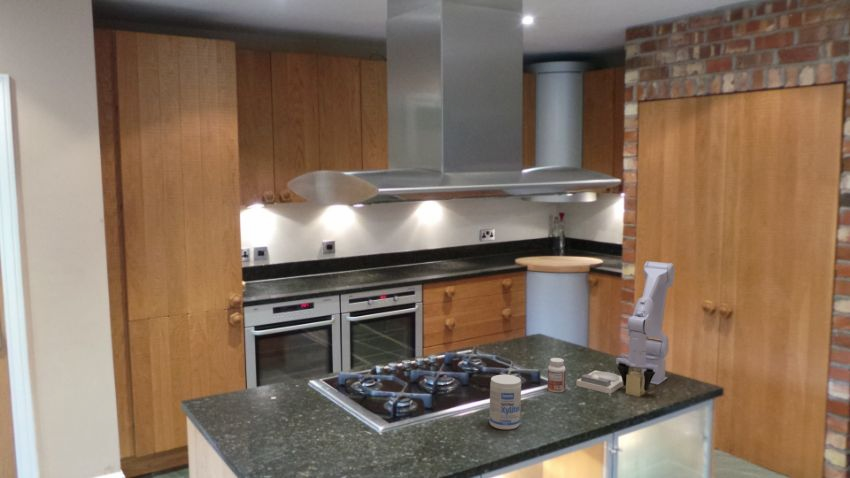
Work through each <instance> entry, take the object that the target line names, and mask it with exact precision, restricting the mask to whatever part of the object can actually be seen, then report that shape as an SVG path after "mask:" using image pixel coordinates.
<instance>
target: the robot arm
mask: <svg viewBox="0 0 850 478" xmlns="http://www.w3.org/2000/svg"><path fill="white" fill-rule="evenodd" d="M675 271H676V269H675V266H674V264H673V263H672V262H670V263H669V262H660V261H650V260H647V261H646V262H645V263H644V265H643V275H644V276H643V277H644V280H645V284H644V288H643V292H642V296H641V297H639V298H638V299H637V302H636V304H635V306H634V310H633V313H632V316H629V317H628V320H627V325H626V327H627V336H628V338H629V340H628V341H629V342H628V344H629V345H628V357H627V358H625V357H616V358H615V364H616V365H617V370H618V372H619V375H620V376H621V377H622V381H623V386H624V387H626V377H627V374H628V373H629V371H630V367H633V368H637V369H641V373H644V380H645V383H644V390H645V392H646V391H648V390H649V388H650V384H653V385H660V384H661V383H663V382H665V380H667V379H668V376H666V365H667V364H666V359H665V358H666V357H667V356H668V354H669V341H670V340H669V337H668V336H667V335H666V334H665V333H664V331H662V330H663V326H664V315H665V311H666V310H665V308H666V301H667V294H668V289H669V288H670V287H672V286H673V285H674V282H675V280H674V279H675V273H676V272H675ZM623 386H622V387H623Z"/></svg>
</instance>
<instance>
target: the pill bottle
mask: <svg viewBox="0 0 850 478" xmlns="http://www.w3.org/2000/svg"><path fill="white" fill-rule="evenodd" d="M549 363H550V364H549V365H548V367H547V390H548V391H549V392H551V393H563V392H564V391H565V390H566V375H567V374H566V367H565V364H564V359H563V358H560V357H552V358H550V361H549Z"/></svg>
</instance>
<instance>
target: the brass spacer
mask: <svg viewBox="0 0 850 478" xmlns="http://www.w3.org/2000/svg"><path fill="white" fill-rule="evenodd" d="M644 383H645V380H644V373H642V372H639V371H636V370H635V371H634V370H631V371H630V372H628V374H627V377H626V386H625V394H626V395H629V396H635V397H639V398H640V397H642V396H643V395H644V394H646V391H645V390H644Z"/></svg>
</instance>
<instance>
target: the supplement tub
mask: <svg viewBox="0 0 850 478" xmlns="http://www.w3.org/2000/svg"><path fill="white" fill-rule="evenodd" d="M489 385H490V389H489V419H488V420H489V421H488V422H489V424H490V426H492V427H493V428H496V429H499V430H505V431H506V430H514V429H516V428H518V427H519V426H520V424H521V408H522V407H521V405H522V404H521V402H522V401H521V400H522V379H521V378H520V377H518V376H516V375H512V374H498V375H497V374H496V375H493V376H492V377H491V378H490V384H489Z"/></svg>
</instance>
